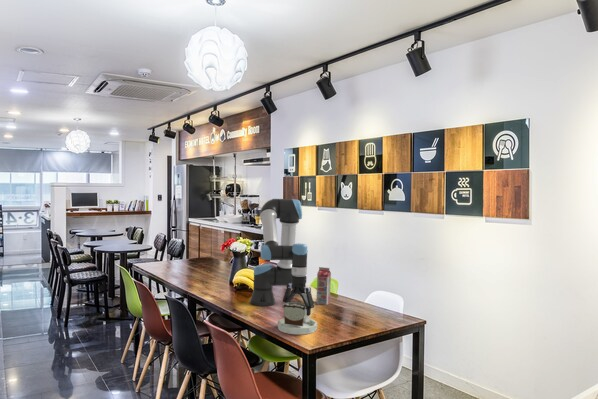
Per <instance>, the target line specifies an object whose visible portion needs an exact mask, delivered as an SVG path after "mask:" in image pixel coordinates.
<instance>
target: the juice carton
mask: <svg viewBox="0 0 598 399" xmlns="http://www.w3.org/2000/svg"><path fill="white" fill-rule="evenodd" d="M331 273H332V272H331V271H330V267H322V266H321V267H320V266H319V267H318V271H317V274H316V283H317V284H316V300H315V301H316V303H315V304H317V305H324V306H325V305H326V306H327V305H329V304H330V303H331V278H332V274H331Z"/></svg>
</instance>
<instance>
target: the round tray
mask: <svg viewBox="0 0 598 399" xmlns="http://www.w3.org/2000/svg"><path fill="white" fill-rule="evenodd" d="M317 327H318V322H317V321H316V320H315V319H312V318H309V322H306V323H305V317H304V323H303V327H302V326H295V325H288V324H285V323H284V317H283V318H280V319H279V320H278V321H277V328H278V331H279V332H282V333H284V334H288V335H299V336H301V335H303V336H304V335H310V334H313V333H315V332H316V331H317V329H318V328H317Z"/></svg>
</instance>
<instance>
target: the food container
mask: <svg viewBox="0 0 598 399" xmlns="http://www.w3.org/2000/svg"><path fill="white" fill-rule="evenodd" d="M282 308H283V318H284V323H285V324H288V325H295V326H302V327H303V323H304V318H305V309H306V306H305V304H304V302H303V303H302V302H298V301H297V302H296V301H291V302H287V303H285V302H283V304H282Z"/></svg>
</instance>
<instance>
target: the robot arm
mask: <svg viewBox="0 0 598 399" xmlns="http://www.w3.org/2000/svg"><path fill="white" fill-rule="evenodd" d="M259 217H260V220H261V221H262V235H263V236H262V237H263V245H261V247H260V259H261V260H264V261H278V262H277V263H276V266H274V264H272V263H264V264H258V265H256V266H255V267H254V269H253V287H252V288H253V289H252V290H253V291H252V293H251V297H250V299H249V304H250V305H253V306H258V307H267V306H274V305H275V304H276V299H275V296H274V295H275V294H274V291H273V287H275V286H276V287H286V289H285V291H284V294H283V298H282V303H287V302H292V300H293V298H294V297H295V296H296V295H299V296H300V297H301V299H302V302H303V304H305V306H306V309H305V316H304V318H305V323H306V322H309V319H310V316H311V315H312V314H311V312H312V309H314V308H315V304H314V300H313V295H312V289H311V288H312V287H307V286H306V283H307V274H308V273H307V271H308V270H307V268H308V245H307V244H306V243H296V234H297V233H296V231H297V230H296V229H297V225H298V224H299V223H300V220H302V219H303V210H302V203H301V201H300V199H295V198H272V199H269V200H267V201H266V202H265V203H264V204H263V205H262V207H261V208H260V213H259ZM277 219H278V220H279V223H281V231H280V232H281V233H280V234H281V236H280V245H279V237H278V228H277V221H276V220H277Z"/></svg>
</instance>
